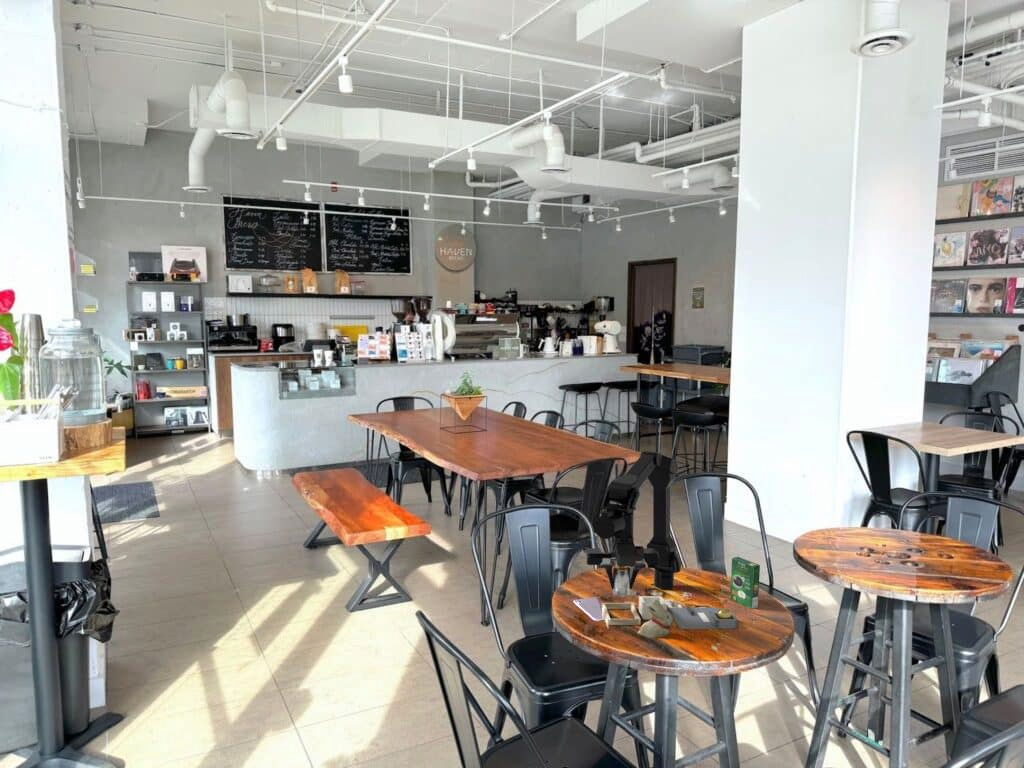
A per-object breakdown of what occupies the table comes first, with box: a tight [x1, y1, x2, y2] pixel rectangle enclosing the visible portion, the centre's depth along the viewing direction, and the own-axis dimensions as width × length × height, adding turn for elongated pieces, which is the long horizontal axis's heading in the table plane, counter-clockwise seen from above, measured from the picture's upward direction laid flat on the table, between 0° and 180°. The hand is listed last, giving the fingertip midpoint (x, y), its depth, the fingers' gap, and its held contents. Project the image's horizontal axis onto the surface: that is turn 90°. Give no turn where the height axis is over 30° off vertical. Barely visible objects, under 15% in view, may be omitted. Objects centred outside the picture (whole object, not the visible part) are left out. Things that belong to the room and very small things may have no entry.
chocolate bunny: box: [637, 599, 674, 639], centre depth 176 cm, size 6×8×10 cm
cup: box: [638, 595, 668, 620], centre depth 188 cm, size 6×6×5 cm
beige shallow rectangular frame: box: [601, 602, 642, 631], centre depth 187 cm, size 11×8×3 cm
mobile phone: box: [572, 596, 605, 622], centre depth 195 cm, size 8×1×15 cm
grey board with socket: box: [666, 603, 740, 630], centre depth 187 cm, size 14×16×3 cm
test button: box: [718, 608, 732, 619], centre depth 183 cm, size 3×3×2 cm
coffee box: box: [729, 556, 761, 610], centre depth 196 cm, size 8×3×13 cm, turn 29°
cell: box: [612, 564, 631, 598], centre depth 187 cm, size 4×4×7 cm
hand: (621, 588), depth 187 cm, fingers closed on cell, 4 cm apart
